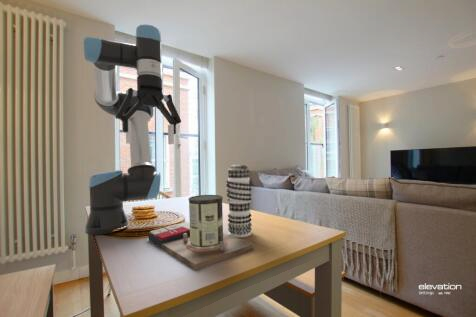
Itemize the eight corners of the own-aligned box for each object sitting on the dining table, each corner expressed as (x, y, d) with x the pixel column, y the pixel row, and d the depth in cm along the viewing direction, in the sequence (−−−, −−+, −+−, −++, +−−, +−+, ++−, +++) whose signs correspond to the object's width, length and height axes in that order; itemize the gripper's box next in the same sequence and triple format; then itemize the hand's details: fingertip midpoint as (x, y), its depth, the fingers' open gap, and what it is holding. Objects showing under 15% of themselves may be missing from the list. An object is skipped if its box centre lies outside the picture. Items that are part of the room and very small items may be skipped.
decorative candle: (222, 233, 89) (220, 165, 89) (241, 228, 94) (240, 164, 94) (237, 239, 82) (236, 165, 82) (257, 233, 87) (256, 164, 87)
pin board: (161, 248, 75) (161, 235, 75) (214, 234, 88) (214, 223, 88) (195, 270, 60) (195, 254, 60) (253, 248, 73) (253, 235, 73)
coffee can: (209, 235, 81) (208, 193, 81) (230, 242, 74) (229, 196, 74) (182, 243, 74) (181, 197, 74) (203, 252, 67) (202, 201, 66)
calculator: (147, 230, 83) (186, 220, 93) (148, 243, 83) (187, 231, 93) (161, 238, 75) (202, 225, 85) (162, 251, 75) (202, 237, 85)
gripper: (109, 64, 66) (111, 141, 66) (190, 81, 82) (191, 143, 82) (103, 71, 72) (104, 143, 72) (179, 86, 88) (181, 145, 88)
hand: (151, 143), depth 77 cm, fingers open, 13 cm apart
